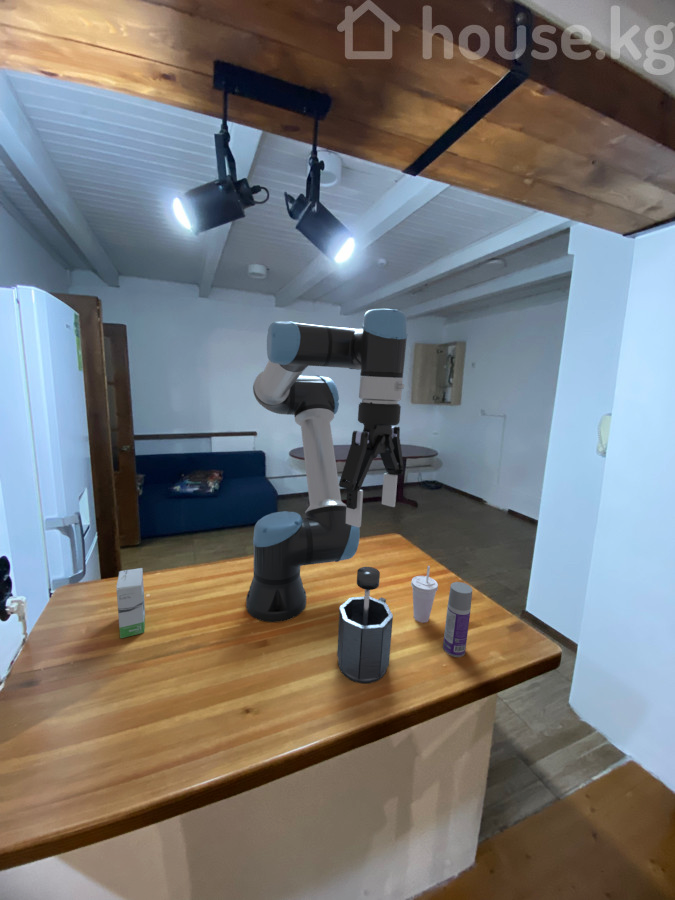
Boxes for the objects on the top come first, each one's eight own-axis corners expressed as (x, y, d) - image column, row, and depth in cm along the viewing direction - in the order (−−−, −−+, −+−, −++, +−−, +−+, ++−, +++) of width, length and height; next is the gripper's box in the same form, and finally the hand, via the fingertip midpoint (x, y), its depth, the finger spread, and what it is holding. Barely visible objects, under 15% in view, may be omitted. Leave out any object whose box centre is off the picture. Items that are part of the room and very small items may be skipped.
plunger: (338, 652, 73) (343, 573, 70) (357, 632, 79) (362, 559, 76) (370, 668, 69) (376, 586, 66) (387, 647, 75) (393, 570, 72)
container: (466, 646, 82) (474, 585, 79) (463, 660, 77) (472, 596, 75) (444, 639, 83) (451, 579, 81) (441, 652, 79) (448, 589, 76)
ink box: (144, 633, 81) (142, 584, 79) (119, 639, 79) (115, 589, 76) (145, 611, 88) (142, 566, 86) (121, 616, 86) (118, 570, 84)
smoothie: (435, 628, 87) (440, 574, 84) (407, 623, 88) (412, 570, 86) (433, 612, 93) (439, 561, 91) (408, 608, 94) (412, 558, 92)
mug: (328, 667, 74) (331, 613, 71) (360, 633, 84) (363, 586, 82) (371, 692, 68) (376, 635, 66) (400, 652, 79) (405, 602, 76)
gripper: (362, 405, 53) (354, 541, 57) (425, 401, 73) (416, 502, 77) (321, 401, 57) (316, 529, 61) (391, 399, 77) (384, 495, 81)
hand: (372, 514), depth 69 cm, fingers open, 13 cm apart
